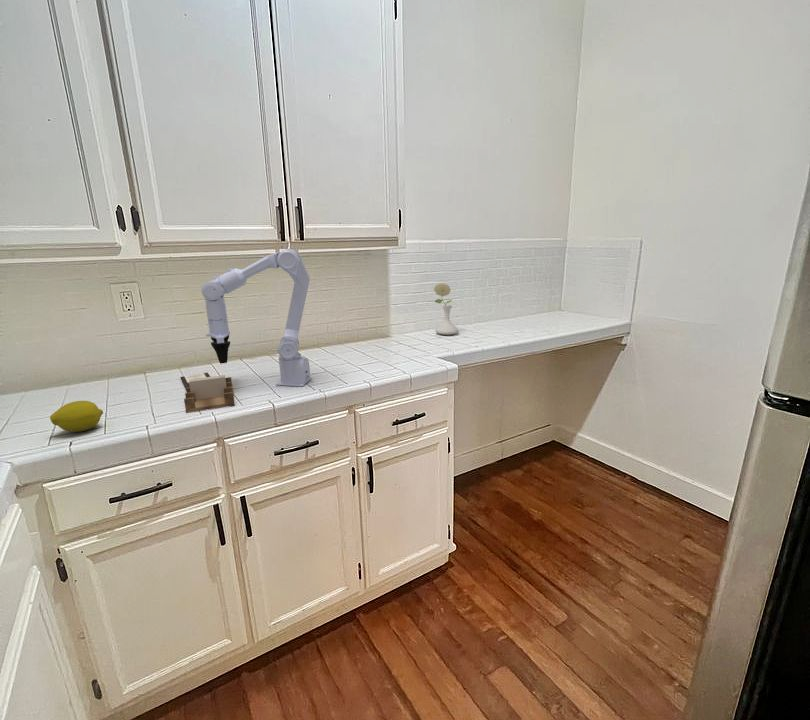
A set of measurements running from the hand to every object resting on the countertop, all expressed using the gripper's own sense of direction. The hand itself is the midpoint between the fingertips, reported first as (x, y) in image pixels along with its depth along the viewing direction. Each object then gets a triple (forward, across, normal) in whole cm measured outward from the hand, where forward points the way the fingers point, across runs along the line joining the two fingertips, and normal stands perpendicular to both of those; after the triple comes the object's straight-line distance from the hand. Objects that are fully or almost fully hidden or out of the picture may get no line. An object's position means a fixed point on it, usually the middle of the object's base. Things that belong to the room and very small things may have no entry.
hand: (223, 359), depth 142 cm
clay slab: (+8, +10, -5) cm, 14 cm away
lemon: (+10, +20, -36) cm, 42 cm away
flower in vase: (+10, -37, +102) cm, 109 cm away
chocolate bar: (+10, -9, -9) cm, 16 cm away
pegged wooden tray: (+9, +10, -5) cm, 15 cm away
